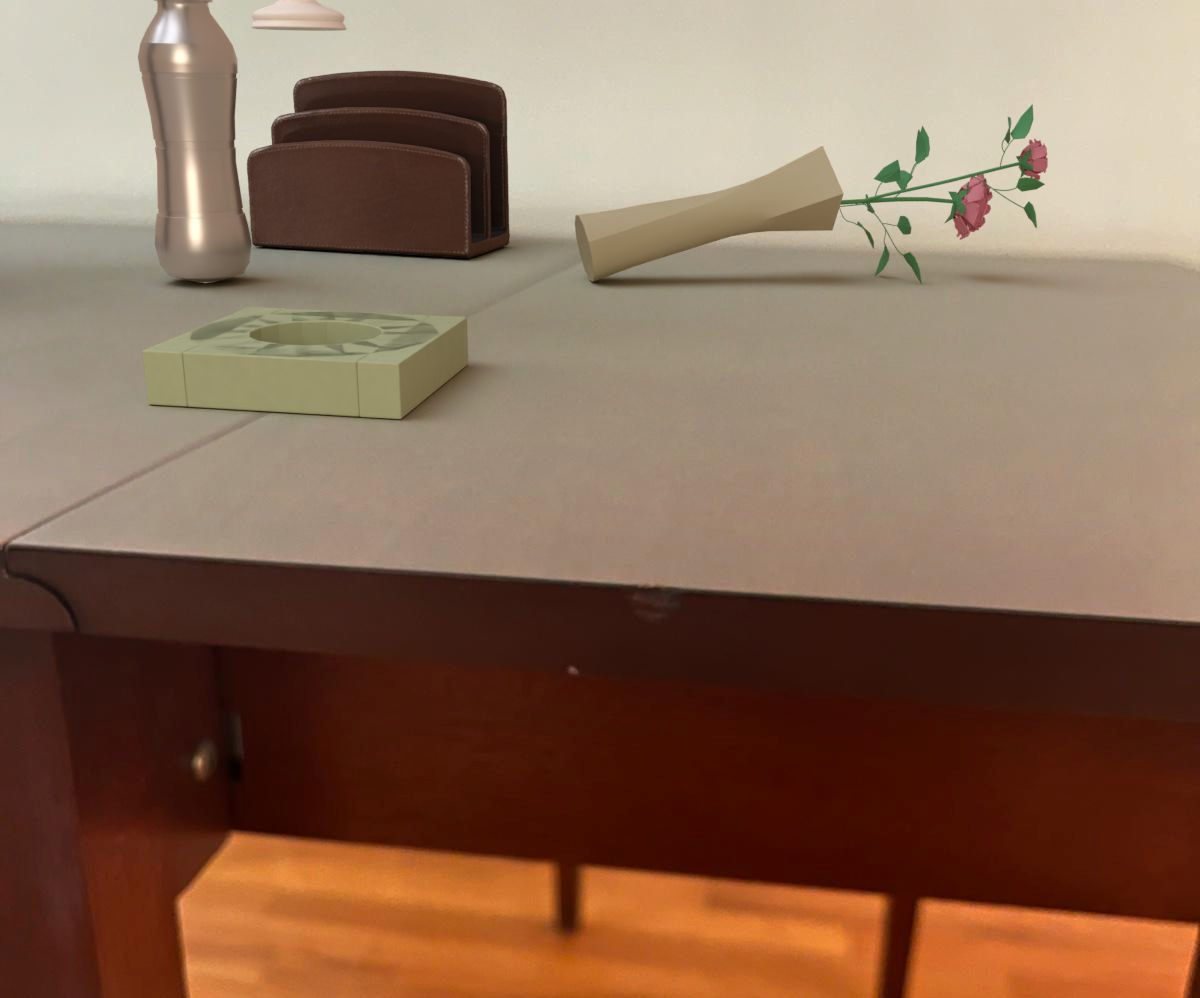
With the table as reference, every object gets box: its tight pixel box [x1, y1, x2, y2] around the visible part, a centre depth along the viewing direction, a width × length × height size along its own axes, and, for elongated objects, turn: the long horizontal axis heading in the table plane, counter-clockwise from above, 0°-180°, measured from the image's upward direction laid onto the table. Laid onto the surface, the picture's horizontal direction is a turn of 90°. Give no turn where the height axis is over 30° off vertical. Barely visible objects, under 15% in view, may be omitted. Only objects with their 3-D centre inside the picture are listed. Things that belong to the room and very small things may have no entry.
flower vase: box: [574, 103, 1049, 285], centre depth 99 cm, size 12×12×35 cm
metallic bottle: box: [137, 0, 252, 284], centre depth 90 cm, size 6×7×20 cm
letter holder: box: [246, 70, 511, 260], centre depth 111 cm, size 10×20×14 cm, turn 74°
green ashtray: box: [141, 306, 469, 420], centre depth 65 cm, size 12×12×2 cm
